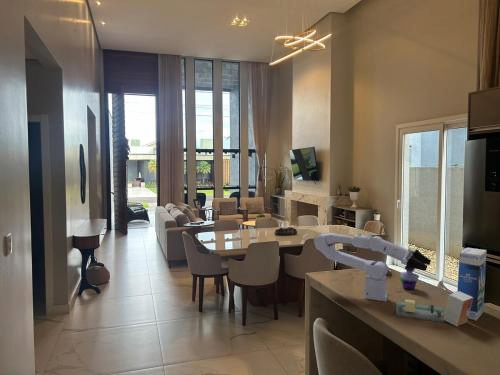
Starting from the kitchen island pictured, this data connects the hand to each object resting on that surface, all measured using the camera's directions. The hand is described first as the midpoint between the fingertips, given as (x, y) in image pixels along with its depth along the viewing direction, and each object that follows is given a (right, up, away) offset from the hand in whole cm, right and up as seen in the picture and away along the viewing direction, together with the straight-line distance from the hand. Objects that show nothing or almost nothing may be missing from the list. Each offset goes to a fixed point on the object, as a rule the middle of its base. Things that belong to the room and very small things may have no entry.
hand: (428, 265), depth 151 cm
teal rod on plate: (-7, -18, -6) cm, 21 cm away
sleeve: (-10, -17, -5) cm, 20 cm away
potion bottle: (+3, -17, +25) cm, 31 cm away
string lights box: (+15, -19, -4) cm, 24 cm away
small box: (+4, -19, -12) cm, 23 cm away
